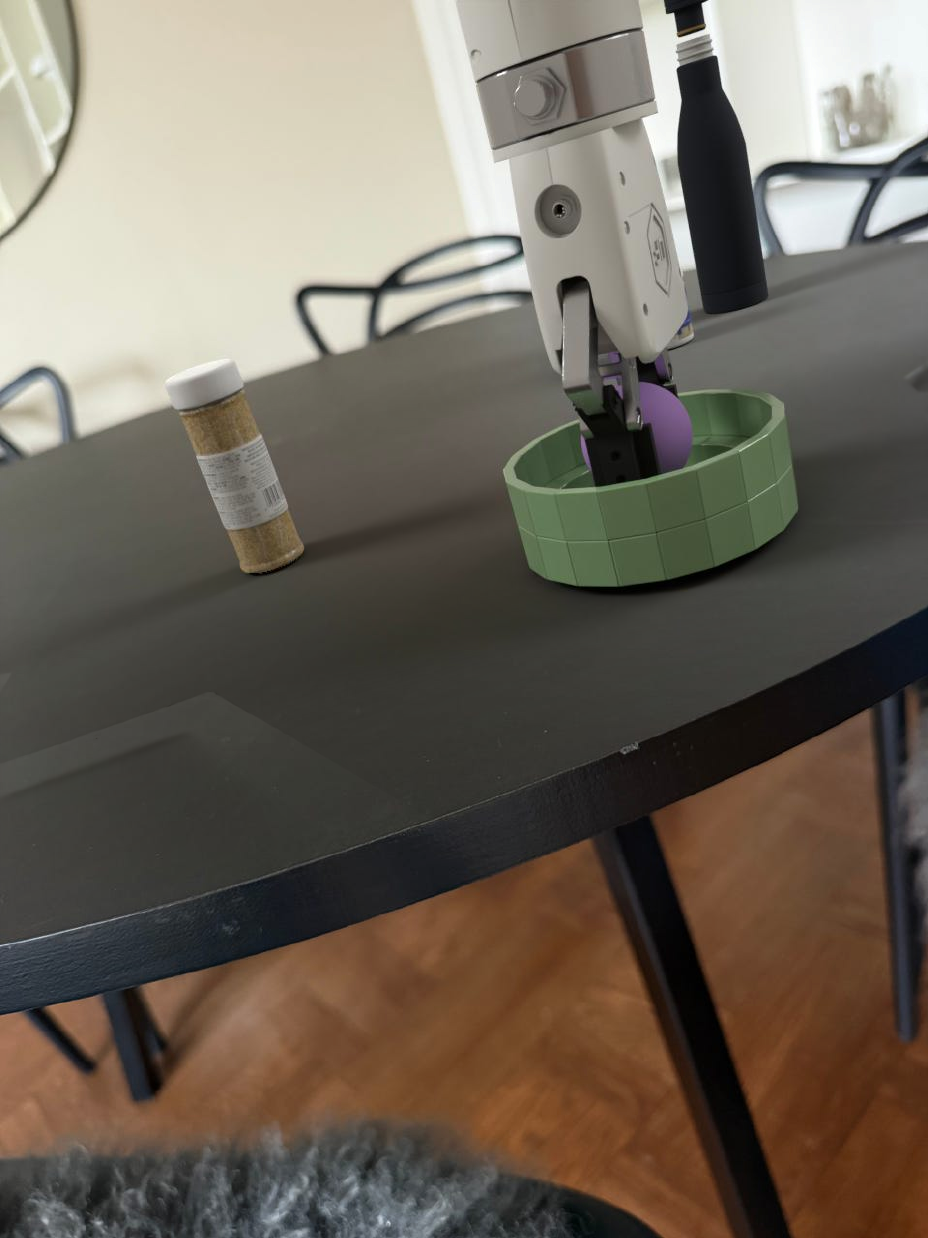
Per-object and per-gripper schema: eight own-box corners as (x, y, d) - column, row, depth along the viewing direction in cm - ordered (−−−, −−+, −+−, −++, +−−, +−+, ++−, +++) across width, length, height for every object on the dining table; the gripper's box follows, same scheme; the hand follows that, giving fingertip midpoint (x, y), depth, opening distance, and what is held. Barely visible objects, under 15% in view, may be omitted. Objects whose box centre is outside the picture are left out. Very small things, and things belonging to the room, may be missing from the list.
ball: (643, 466, 55) (622, 367, 53) (724, 472, 51) (705, 365, 48) (572, 506, 52) (547, 404, 50) (651, 516, 48) (627, 404, 46)
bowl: (649, 475, 61) (631, 389, 59) (857, 492, 50) (844, 387, 48) (478, 574, 55) (450, 481, 53) (674, 619, 44) (649, 504, 41)
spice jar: (273, 547, 70) (200, 361, 64) (319, 546, 67) (247, 351, 62) (228, 577, 67) (147, 384, 61) (275, 577, 64) (195, 375, 59)
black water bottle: (745, 310, 96) (688, -43, 84) (691, 316, 101) (630, -17, 89) (781, 291, 100) (732, -52, 87) (727, 297, 104) (673, -27, 92)
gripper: (601, 87, 35) (690, 545, 43) (685, 70, 49) (742, 419, 57) (417, 146, 39) (530, 562, 46) (545, 115, 53) (616, 439, 60)
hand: (646, 479), depth 51 cm, fingers closed on ball, 5 cm apart
